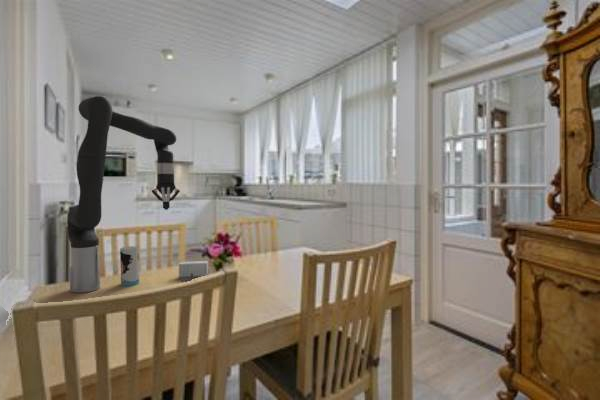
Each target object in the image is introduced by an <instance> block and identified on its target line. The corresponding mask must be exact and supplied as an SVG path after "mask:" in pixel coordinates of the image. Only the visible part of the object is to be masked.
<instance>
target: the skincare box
mask: <svg viewBox="0 0 600 400" xmlns="http://www.w3.org/2000/svg"><path fill="white" fill-rule="evenodd" d="M208 269H209V261H208V260H200V261H199V260H195V261H179V263H178V277H179V278H181V277H194V276H205V275H208Z"/></svg>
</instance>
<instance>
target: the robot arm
mask: <svg viewBox="0 0 600 400" xmlns="http://www.w3.org/2000/svg"><path fill="white" fill-rule="evenodd" d="M78 113H79V114H80V116H81V117H82V118H83V119H84V120H86V121H88V122H87V129H86V132H85V136H84V138H83V140H82V142H81V144H80V146H79V149H78V151H77V152H78V153H77V158H76V176H77V182H78V185H79V199H78V204H76V205H74V206H72V207H71V208H70V209H69V211H68V213H67V218H66V219H67V220H66V221H67V235H68V239H69V242H70V260H71V261H70V263H71V265H70V267H69V290H70V291H69V292H70V293H78V294H80V293H81V294H82V293H88V292H93V291H96V290H98V289H100V288H101V275H100V274H101V270H100V268H101V267H100V266H101V265H100V239H99V237H98V235H97V234H96V230H95V228H96V227H97V226H98V225H100V223H101V219H102V190H103V183H104V177H105V176H104V174H105V168H106V167H105V166H106V159H107V158H106V156H107V147H108V138H109V137H108V136H109V130H110V127H113V128H117V129H118V130H119V129H120V130H123V131H125V132H128V133H130V134H133V135H136V136H137V137H138V136H139V137H141V138H144V139H147V140H150V141H151V140H153V143H154V148H155V151H156V154H157V163H156V164H157V165H156V166H157V167H156V176H157V179H156V181H157V182H156V183H157V184H156V187H155V188H153V189H152V190H151V193H152V194H153V195H154V196H155V197H156V198H157V200H159V201H160V202H162V208H163V209H164V210H165V211H167V210H169V209H170V202H172V201H174V199H175V198H176V197H177V196H178V195H179V193H180V192H181V190H180V189H178V188H176V185H175V166H174V152H173V151H170V150H169V146H173V145H174V144H175V143H176V141H177V135H176V133H174V131H173V130H170V129H169V128H164V127H161V126H158V125H154V124H152V123H150V122H148V121H146V120H143V119H141V118H140V119H139V118H137V117H133V116H130V115H127V114H126V115H125V114H121V113H119V112H116V111H115V110H114V111H113V106H112V103H111V102H110V101H109V99H107V98H106V97H104V96H99V95H98V96H97V95H96V96H92V97H87V98H85V99H83V100H82V101H81V102H80V103H79V105H78ZM173 192H174V194H173ZM159 193H160V194H161V196H160V195H159ZM171 194H173V195H172V196H171Z"/></svg>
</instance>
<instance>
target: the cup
mask: <svg viewBox="0 0 600 400" xmlns="http://www.w3.org/2000/svg"><path fill="white" fill-rule="evenodd" d="M119 255H120V256H119V257H120V262H119V263H120V285H121V286H123V287H131V286H133V287H134V286H136V285H138V284H140V262H139V261H140V259H139V258H140V257H139V255H140V254H139V246H135V245H134V246H133V245H132V246H122V247H120V248H119Z"/></svg>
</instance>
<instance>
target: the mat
mask: <svg viewBox="0 0 600 400" xmlns="http://www.w3.org/2000/svg"><path fill="white" fill-rule="evenodd" d="M198 277H201V276H194V277H180V278H181V279H180V281H181V282H190V281H189V280H192V279H195V278H198Z"/></svg>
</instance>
